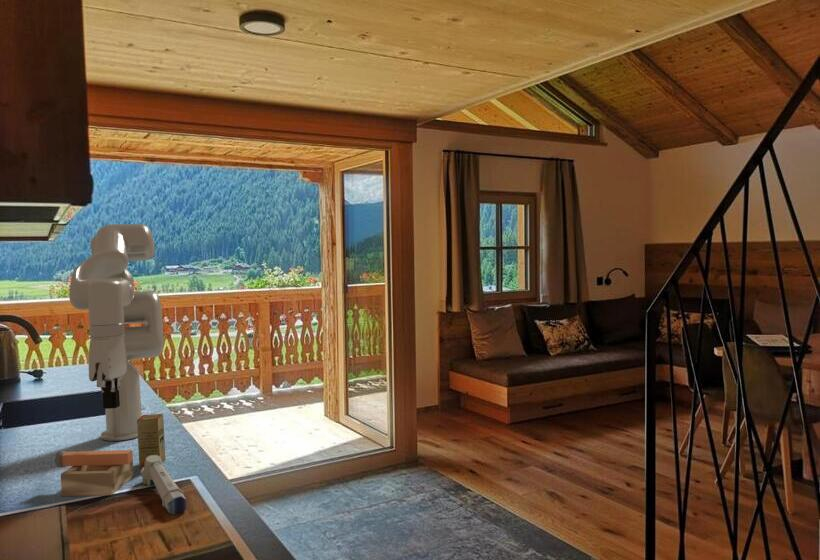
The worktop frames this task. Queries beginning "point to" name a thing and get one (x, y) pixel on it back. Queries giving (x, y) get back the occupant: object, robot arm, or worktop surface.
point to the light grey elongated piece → (163, 485)
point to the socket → (95, 479)
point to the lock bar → (93, 458)
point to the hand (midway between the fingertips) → (111, 407)
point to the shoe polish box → (150, 437)
